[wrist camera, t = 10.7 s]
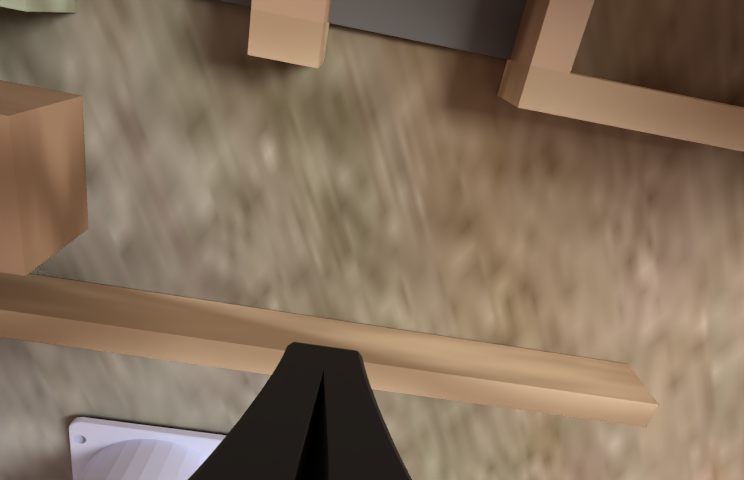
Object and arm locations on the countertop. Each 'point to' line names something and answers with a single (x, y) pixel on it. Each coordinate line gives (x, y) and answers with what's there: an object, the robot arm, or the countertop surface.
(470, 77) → the countertop surface
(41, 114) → the block
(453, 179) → the countertop surface
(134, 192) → the countertop surface
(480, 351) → the lane
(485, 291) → the countertop surface
